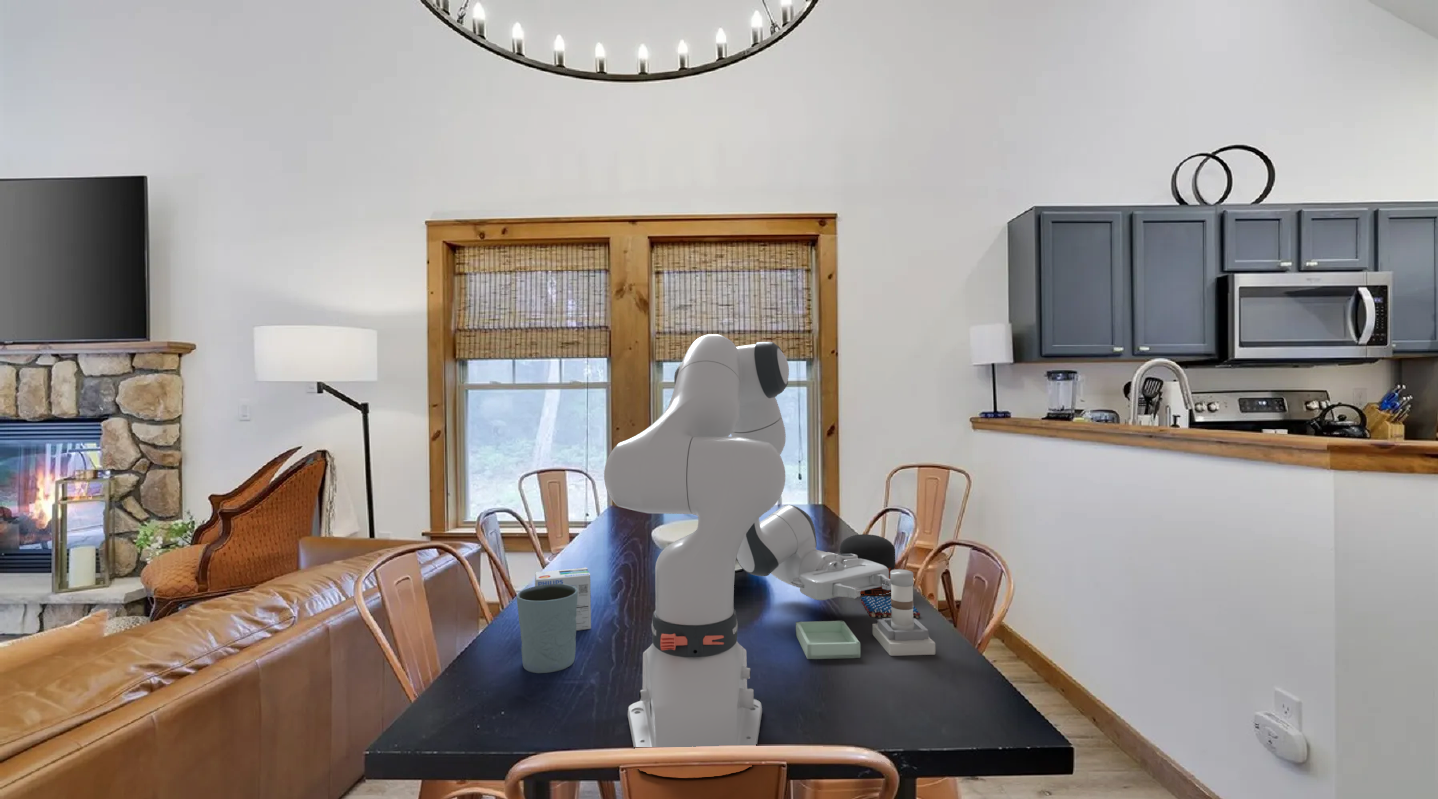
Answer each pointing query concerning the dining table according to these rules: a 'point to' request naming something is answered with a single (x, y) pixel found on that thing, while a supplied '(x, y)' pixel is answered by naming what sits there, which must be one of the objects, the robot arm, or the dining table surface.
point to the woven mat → (880, 606)
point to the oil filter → (871, 554)
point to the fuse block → (904, 639)
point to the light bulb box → (578, 580)
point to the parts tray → (827, 640)
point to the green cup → (548, 627)
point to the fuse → (901, 599)
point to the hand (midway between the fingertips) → (875, 589)
